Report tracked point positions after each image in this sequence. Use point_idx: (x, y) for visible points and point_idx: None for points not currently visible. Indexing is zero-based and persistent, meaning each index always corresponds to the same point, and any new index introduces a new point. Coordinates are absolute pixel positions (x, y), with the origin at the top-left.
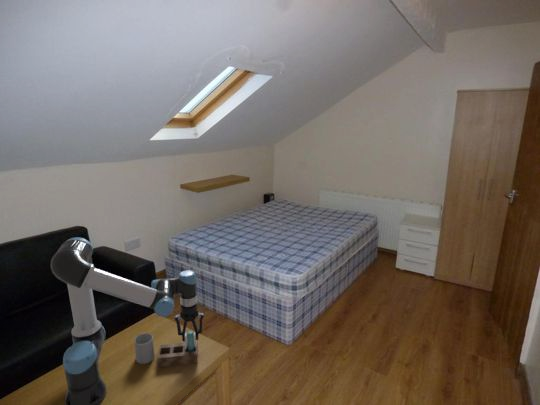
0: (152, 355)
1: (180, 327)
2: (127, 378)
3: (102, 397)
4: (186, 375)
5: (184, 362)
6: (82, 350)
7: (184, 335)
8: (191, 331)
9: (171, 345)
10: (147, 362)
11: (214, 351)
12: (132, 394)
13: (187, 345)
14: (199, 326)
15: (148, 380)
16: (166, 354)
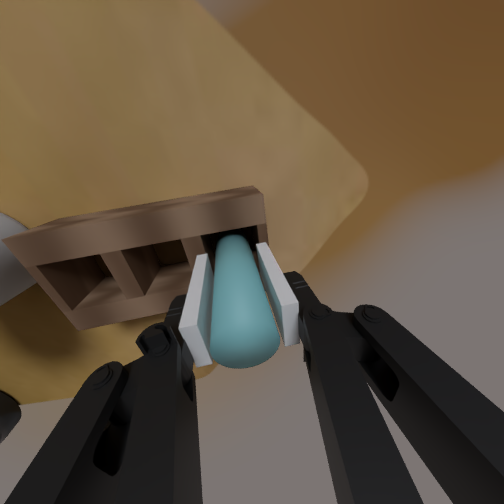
0: (25, 274)
1: (77, 487)
2: (22, 346)
3: (10, 417)
4: None
5: None
6: None
7: (193, 376)
8: (255, 325)
9: (95, 238)
10: (36, 282)
11: (331, 195)
12: None
13: (206, 233)
14: (430, 470)
15: (112, 343)
16: (112, 306)
